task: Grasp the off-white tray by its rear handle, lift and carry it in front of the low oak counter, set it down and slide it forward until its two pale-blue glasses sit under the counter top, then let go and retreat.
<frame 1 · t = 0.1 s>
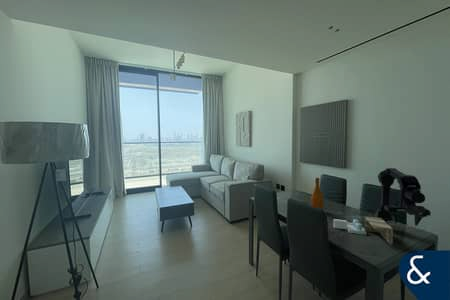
hand: (405, 224, 109), 15 cm above the table, fingers open, 9 cm apart
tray: (357, 229, 134), on the table
counter: (377, 237, 123), on the table
wine bottle: (317, 211, 168), on the table
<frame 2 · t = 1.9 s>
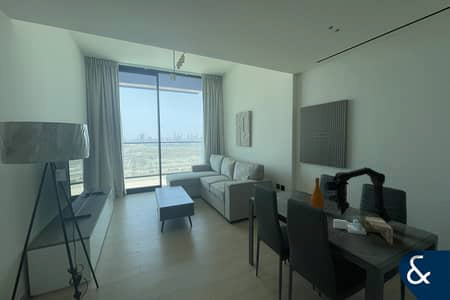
hand: (340, 212, 136), 12 cm above the table, fingers open, 9 cm apart
nothing on the table moved.
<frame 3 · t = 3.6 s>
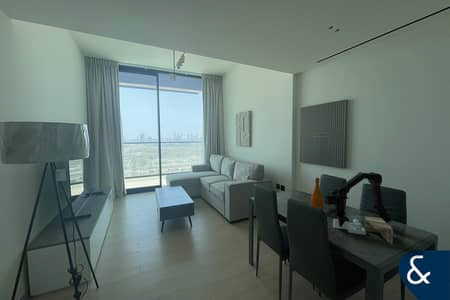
hand: (340, 225, 137), 2 cm above the table, fingers closed on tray, 2 cm apart
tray: (357, 229, 134), on the table, touching gripper
everything else where it was.
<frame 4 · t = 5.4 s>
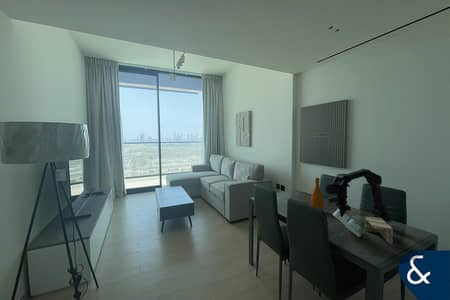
hand: (340, 215, 129), 12 cm above the table, fingers closed on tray, 3 cm apart
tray: (350, 228, 130), point 3 cm above the table, tilted 40°, touching gripper
everything else where it was.
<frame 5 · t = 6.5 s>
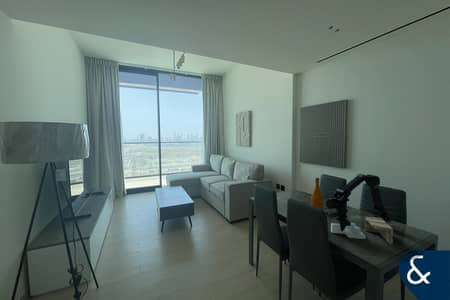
hand: (341, 230, 129), 2 cm above the table, fingers closed on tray, 3 cm apart
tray: (354, 233, 128), on the table, touching gripper
everything else where it was.
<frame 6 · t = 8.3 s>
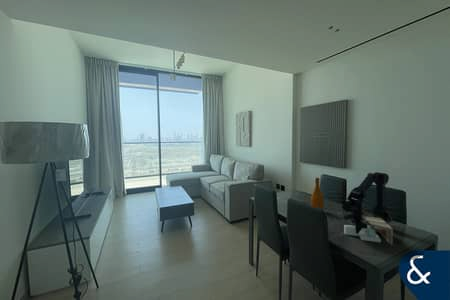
hand: (356, 232, 126), 2 cm above the table, fingers closed on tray, 2 cm apart
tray: (370, 236, 124), on the table, touching gripper
everything else where it was.
when the fingers open (2 cm above the table, at t = 8.5 s): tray stays where it is, on the table.
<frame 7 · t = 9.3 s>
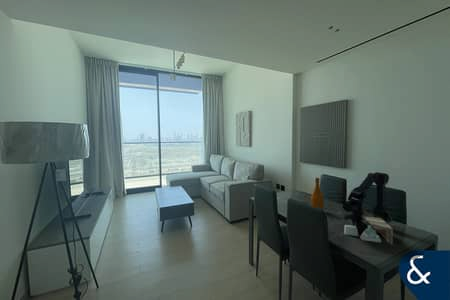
hand: (357, 232, 126), 2 cm above the table, fingers open, 9 cm apart
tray: (370, 236, 124), on the table
everything else where it was.
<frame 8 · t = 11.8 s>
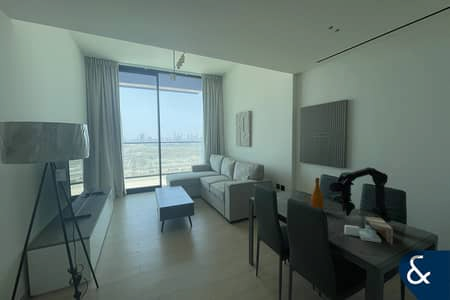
hand: (345, 213, 133), 12 cm above the table, fingers open, 9 cm apart
nothing on the table moved.
at the end: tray inside the target area (2.2 cm from its centre), on the table; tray tilted 0°; the gripper is holding nothing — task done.
